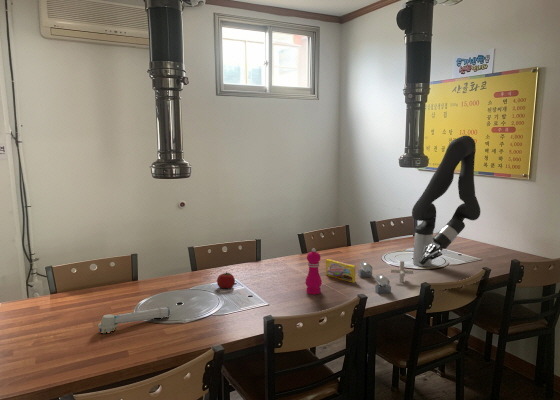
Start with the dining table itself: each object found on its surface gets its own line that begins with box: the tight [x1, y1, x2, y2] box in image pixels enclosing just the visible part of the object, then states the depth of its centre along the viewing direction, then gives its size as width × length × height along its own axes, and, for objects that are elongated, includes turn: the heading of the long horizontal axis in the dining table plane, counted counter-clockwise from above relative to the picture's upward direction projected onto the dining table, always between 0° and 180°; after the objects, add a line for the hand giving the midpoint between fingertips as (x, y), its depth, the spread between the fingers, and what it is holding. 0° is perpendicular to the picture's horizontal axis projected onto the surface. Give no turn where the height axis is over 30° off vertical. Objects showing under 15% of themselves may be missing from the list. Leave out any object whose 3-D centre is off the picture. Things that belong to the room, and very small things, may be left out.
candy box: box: [325, 258, 356, 284], centre depth 196 cm, size 16×2×8 cm, turn 47°
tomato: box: [216, 271, 236, 289], centre depth 186 cm, size 8×8×7 cm
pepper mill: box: [304, 248, 323, 295], centre depth 179 cm, size 7×7×20 cm
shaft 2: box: [374, 273, 392, 295], centre depth 180 cm, size 6×6×7 cm
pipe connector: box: [390, 260, 414, 283], centre depth 191 cm, size 10×10×10 cm
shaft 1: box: [357, 260, 373, 279], centre depth 198 cm, size 6×6×7 cm
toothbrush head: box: [97, 306, 171, 334], centre depth 151 cm, size 5×7×25 cm
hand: (420, 263), depth 192 cm, fingers closed
